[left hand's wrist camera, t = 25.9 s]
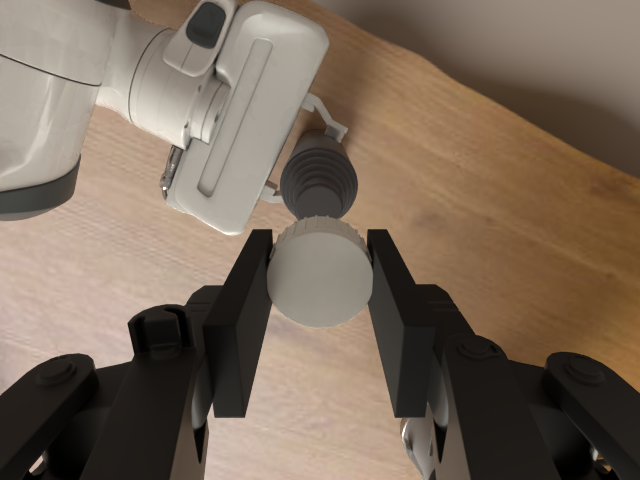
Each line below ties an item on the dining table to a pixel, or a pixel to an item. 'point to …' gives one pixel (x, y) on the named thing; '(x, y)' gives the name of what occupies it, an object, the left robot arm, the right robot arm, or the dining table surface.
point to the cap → (320, 272)
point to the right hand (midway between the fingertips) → (327, 168)
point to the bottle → (318, 178)
